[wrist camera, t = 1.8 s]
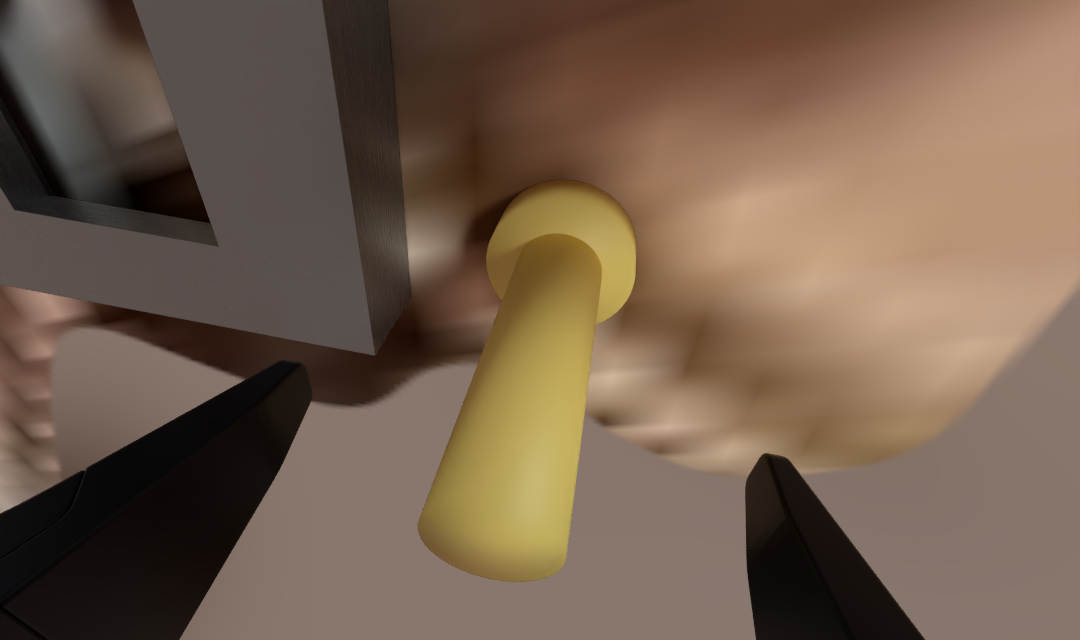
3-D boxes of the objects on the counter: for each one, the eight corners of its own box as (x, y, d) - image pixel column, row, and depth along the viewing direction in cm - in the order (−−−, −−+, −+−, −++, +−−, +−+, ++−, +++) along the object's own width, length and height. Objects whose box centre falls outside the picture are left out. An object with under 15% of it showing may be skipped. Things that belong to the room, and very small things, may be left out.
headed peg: (650, 192, 14) (655, 498, 7) (620, 312, 16) (600, 625, 9) (500, 168, 14) (344, 435, 7) (494, 290, 17) (377, 576, 10)
